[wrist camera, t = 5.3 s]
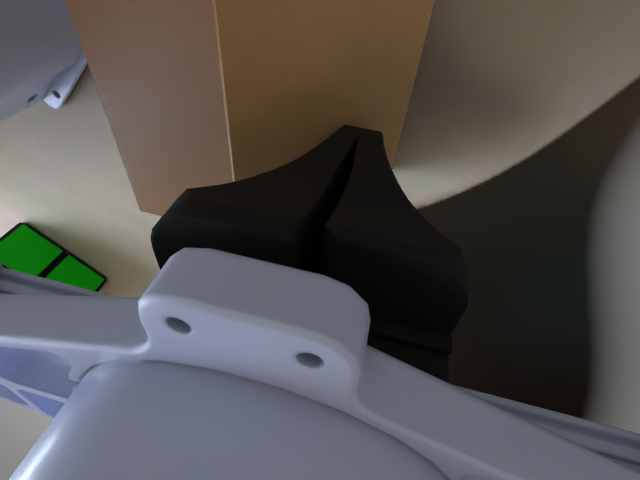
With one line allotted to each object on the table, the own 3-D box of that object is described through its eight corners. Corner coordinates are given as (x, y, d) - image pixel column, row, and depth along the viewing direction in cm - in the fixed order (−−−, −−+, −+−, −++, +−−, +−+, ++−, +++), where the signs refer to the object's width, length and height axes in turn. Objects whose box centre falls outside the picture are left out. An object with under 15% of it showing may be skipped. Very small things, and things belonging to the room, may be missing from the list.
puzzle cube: (2, 253, 43) (-83, 324, 36) (22, 219, 37) (-76, 296, 30) (80, 302, 47) (16, 374, 40) (109, 278, 41) (41, 358, 34)
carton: (455, -114, 14) (463, -113, 8) (386, 170, 23) (368, 264, 17) (168, -144, 15) (4, -161, 10) (210, 135, 25) (139, 211, 19)
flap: (454, -111, 9) (463, -110, 8) (365, 258, 18) (368, 263, 17) (195, -137, 7) (198, -137, 7) (245, 287, 16) (246, 293, 16)
